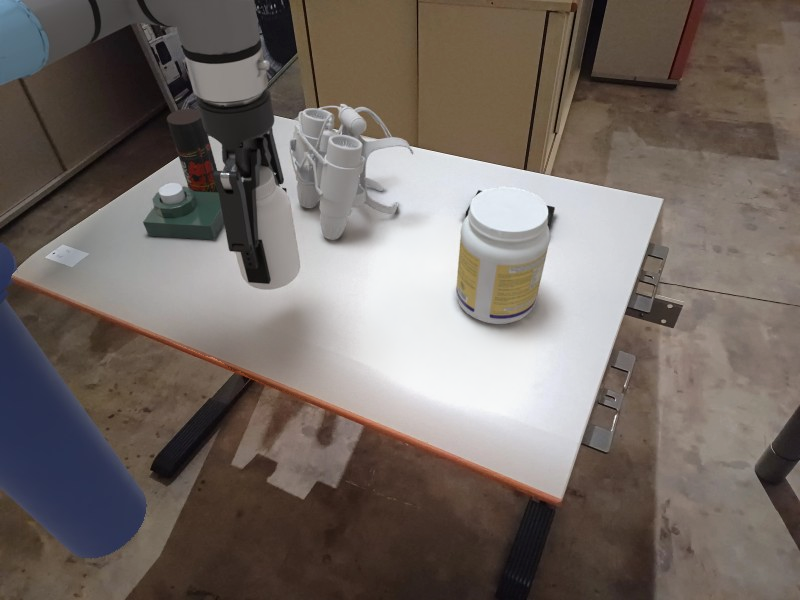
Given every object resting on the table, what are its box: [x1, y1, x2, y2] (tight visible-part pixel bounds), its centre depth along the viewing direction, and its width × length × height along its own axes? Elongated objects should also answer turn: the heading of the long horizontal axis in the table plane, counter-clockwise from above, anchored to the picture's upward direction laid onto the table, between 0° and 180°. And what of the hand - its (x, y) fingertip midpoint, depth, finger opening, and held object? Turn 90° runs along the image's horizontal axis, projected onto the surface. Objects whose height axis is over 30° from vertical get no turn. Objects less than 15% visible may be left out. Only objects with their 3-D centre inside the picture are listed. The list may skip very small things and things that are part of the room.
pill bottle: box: [234, 166, 301, 291], centre depth 69 cm, size 8×8×15 cm
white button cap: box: [158, 182, 186, 205], centre depth 96 cm, size 4×4×2 cm
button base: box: [142, 185, 224, 241], centre depth 98 cm, size 12×10×5 cm
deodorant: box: [166, 108, 219, 193], centre depth 101 cm, size 6×6×15 cm
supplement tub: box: [455, 186, 551, 325], centre depth 79 cm, size 12×12×17 cm
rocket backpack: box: [289, 103, 415, 241], centre depth 96 cm, size 18×19×20 cm
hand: (268, 259), depth 73 cm, fingers closed on pill bottle, 8 cm apart
